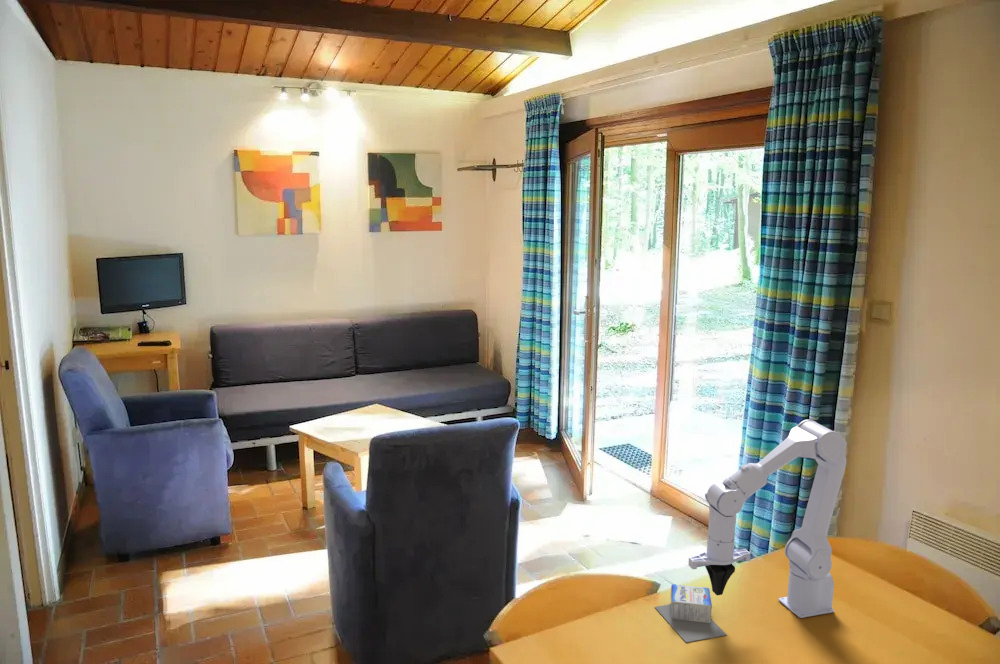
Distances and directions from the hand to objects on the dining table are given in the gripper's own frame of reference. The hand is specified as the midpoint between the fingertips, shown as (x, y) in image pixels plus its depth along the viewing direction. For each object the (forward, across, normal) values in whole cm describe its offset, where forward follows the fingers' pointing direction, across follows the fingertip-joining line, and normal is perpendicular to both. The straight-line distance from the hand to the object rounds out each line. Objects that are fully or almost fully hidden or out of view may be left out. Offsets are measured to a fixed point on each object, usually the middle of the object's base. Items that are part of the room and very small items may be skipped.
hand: (717, 592), depth 166 cm
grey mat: (+6, +7, 0) cm, 9 cm away
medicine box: (+3, +1, -1) cm, 4 cm away
